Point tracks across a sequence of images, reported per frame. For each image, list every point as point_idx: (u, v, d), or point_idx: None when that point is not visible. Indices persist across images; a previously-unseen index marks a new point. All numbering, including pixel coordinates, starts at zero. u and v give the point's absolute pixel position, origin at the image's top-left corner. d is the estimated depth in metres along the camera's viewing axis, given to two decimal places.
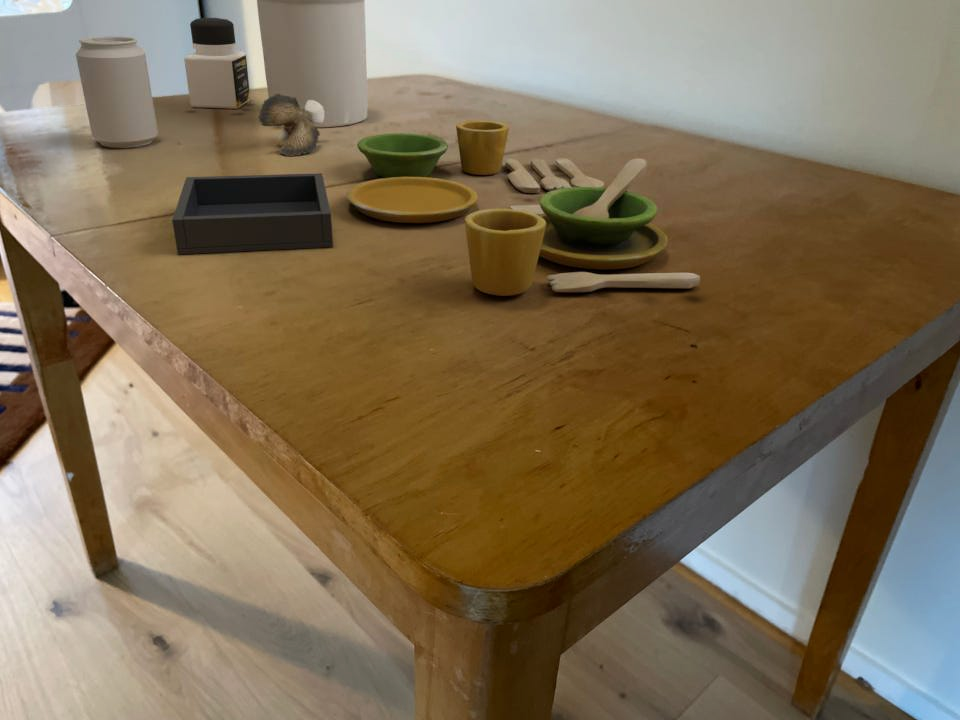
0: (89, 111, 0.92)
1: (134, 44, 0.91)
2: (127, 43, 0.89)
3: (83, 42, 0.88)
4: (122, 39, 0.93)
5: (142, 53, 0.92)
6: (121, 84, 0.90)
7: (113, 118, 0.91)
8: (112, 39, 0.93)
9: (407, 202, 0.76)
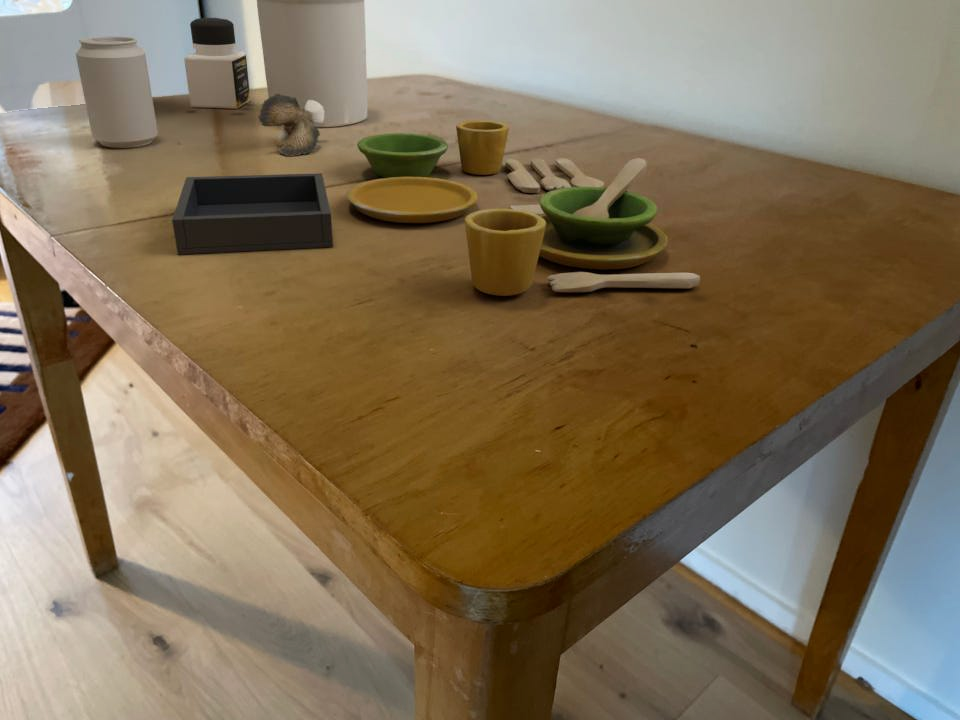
0: (89, 111, 0.92)
1: (134, 44, 0.91)
2: (127, 43, 0.89)
3: (83, 42, 0.88)
4: (122, 39, 0.93)
5: (142, 53, 0.92)
6: (121, 84, 0.90)
7: (113, 118, 0.91)
8: (112, 39, 0.93)
9: (407, 202, 0.76)
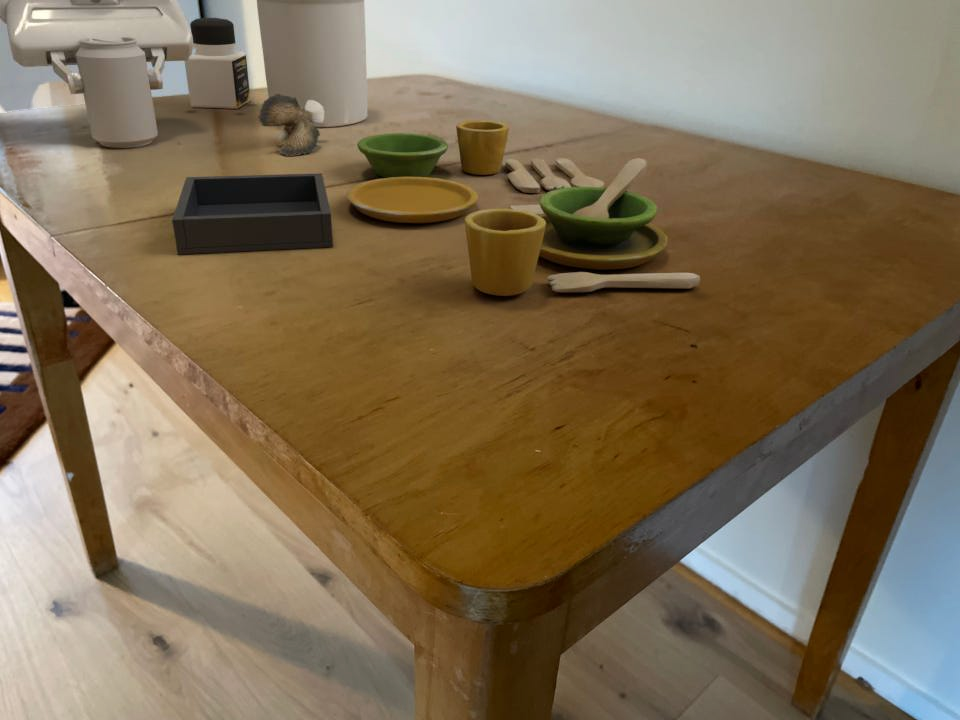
0: (88, 111, 0.92)
1: (134, 44, 0.91)
2: (127, 43, 0.89)
3: (83, 42, 0.88)
4: None
5: (142, 53, 0.91)
6: (121, 84, 0.90)
7: (113, 118, 0.91)
8: None
9: (407, 202, 0.76)
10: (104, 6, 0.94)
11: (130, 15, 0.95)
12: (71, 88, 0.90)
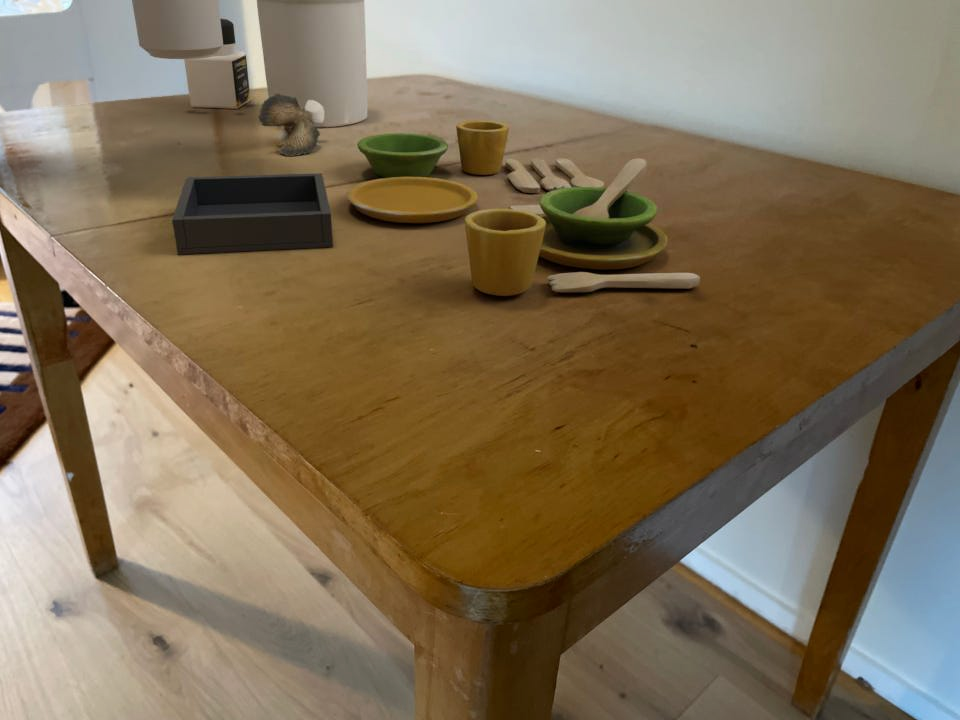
0: (136, 8, 0.69)
1: None
2: None
3: None
4: None
5: None
6: None
7: (169, 16, 0.69)
8: None
9: (407, 202, 0.76)
10: None
11: None
12: None
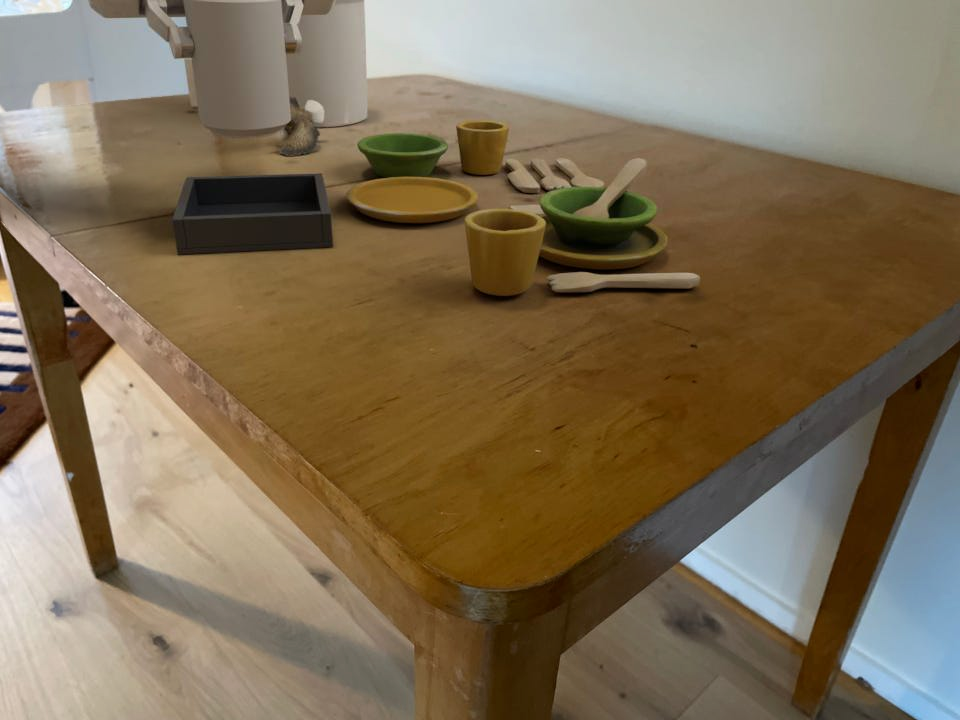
0: (199, 84, 0.62)
1: None
2: None
3: None
4: None
5: None
6: (251, 43, 0.60)
7: (236, 94, 0.62)
8: None
9: (407, 202, 0.76)
10: None
11: None
12: (176, 49, 0.60)
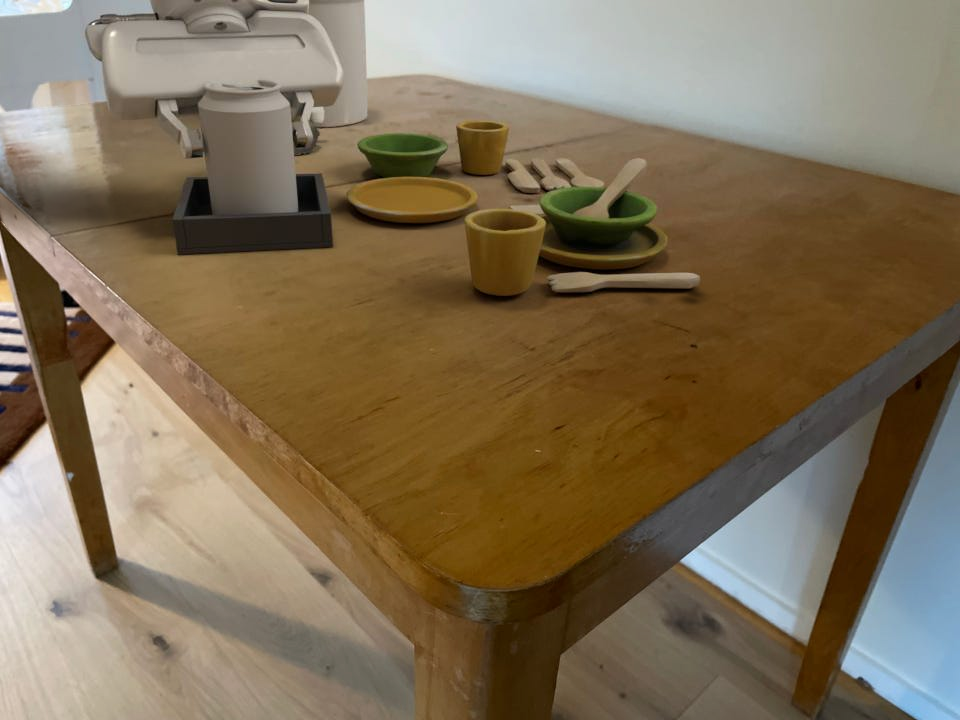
0: (212, 183, 0.66)
1: (278, 91, 0.65)
2: (271, 90, 0.64)
3: (211, 90, 0.63)
4: None
5: (287, 103, 0.66)
6: (262, 148, 0.64)
7: (247, 193, 0.66)
8: None
9: (407, 202, 0.76)
10: (230, 35, 0.68)
11: (264, 47, 0.69)
12: (187, 151, 0.64)
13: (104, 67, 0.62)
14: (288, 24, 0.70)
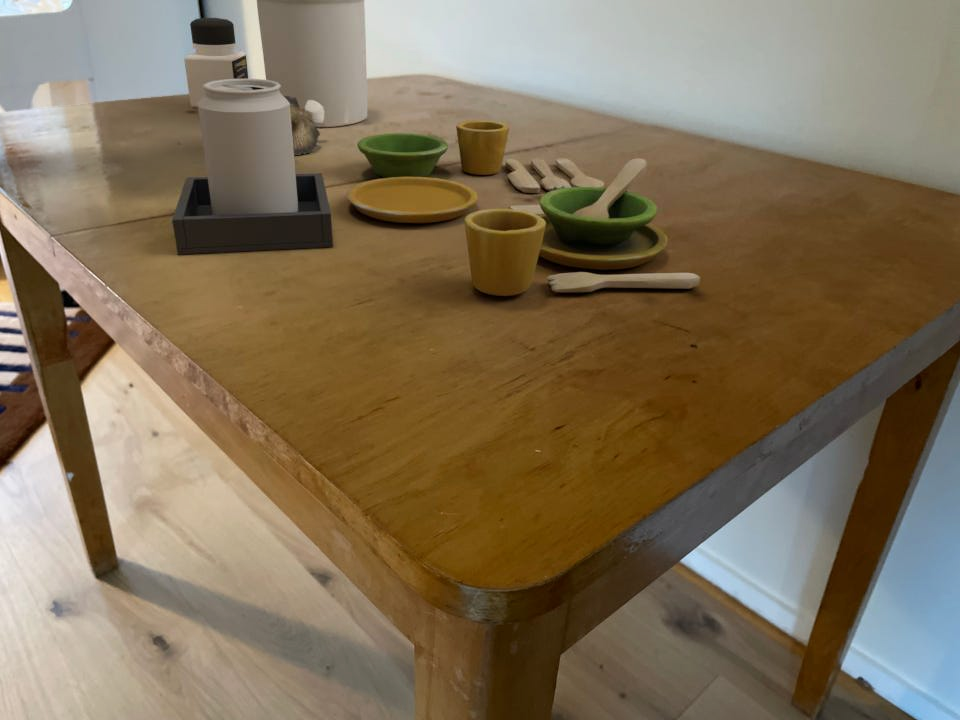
0: (212, 183, 0.66)
1: (278, 91, 0.65)
2: (271, 90, 0.64)
3: (211, 90, 0.63)
4: (256, 82, 0.67)
5: (287, 103, 0.66)
6: (262, 147, 0.64)
7: (247, 193, 0.66)
8: (243, 82, 0.67)
9: (407, 202, 0.76)
10: None
11: None
12: None
13: None
14: None
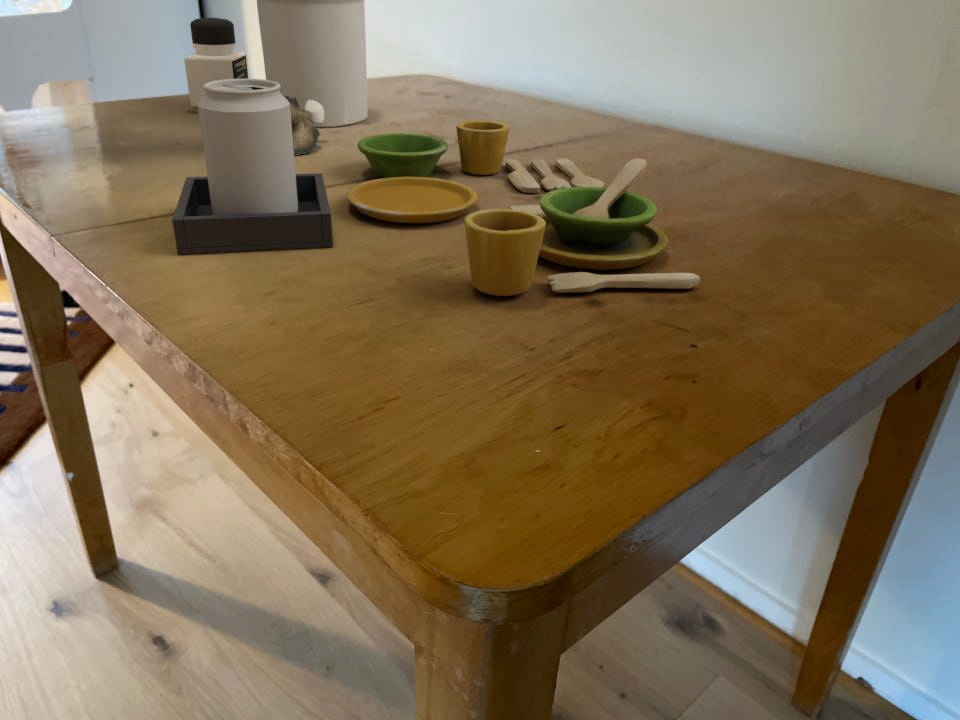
0: (212, 183, 0.66)
1: (278, 91, 0.65)
2: (271, 90, 0.64)
3: (211, 90, 0.63)
4: (256, 82, 0.67)
5: (287, 103, 0.66)
6: (262, 147, 0.64)
7: (247, 193, 0.66)
8: (243, 82, 0.67)
9: (407, 202, 0.76)
10: None
11: None
12: None
13: None
14: None
